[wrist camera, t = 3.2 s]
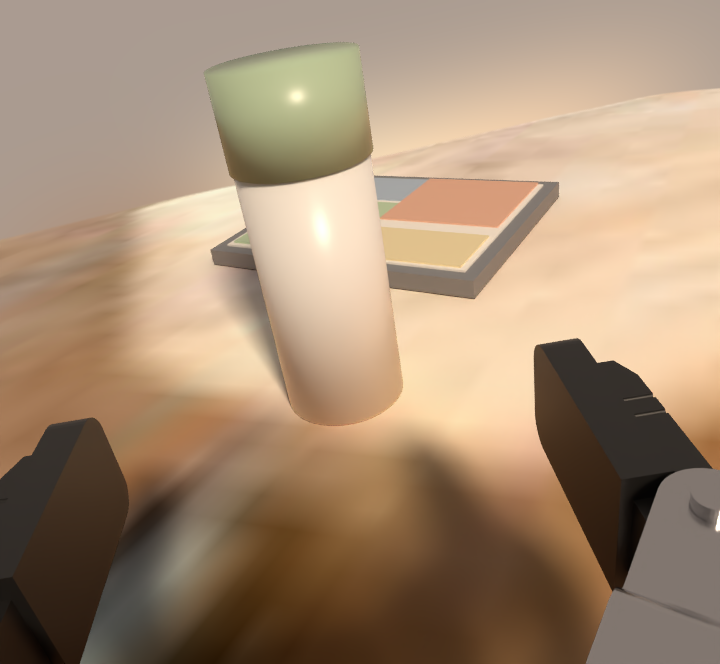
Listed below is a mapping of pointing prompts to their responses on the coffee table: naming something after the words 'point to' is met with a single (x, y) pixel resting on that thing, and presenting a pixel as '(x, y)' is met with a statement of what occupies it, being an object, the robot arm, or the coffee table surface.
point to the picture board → (440, 230)
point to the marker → (313, 223)
